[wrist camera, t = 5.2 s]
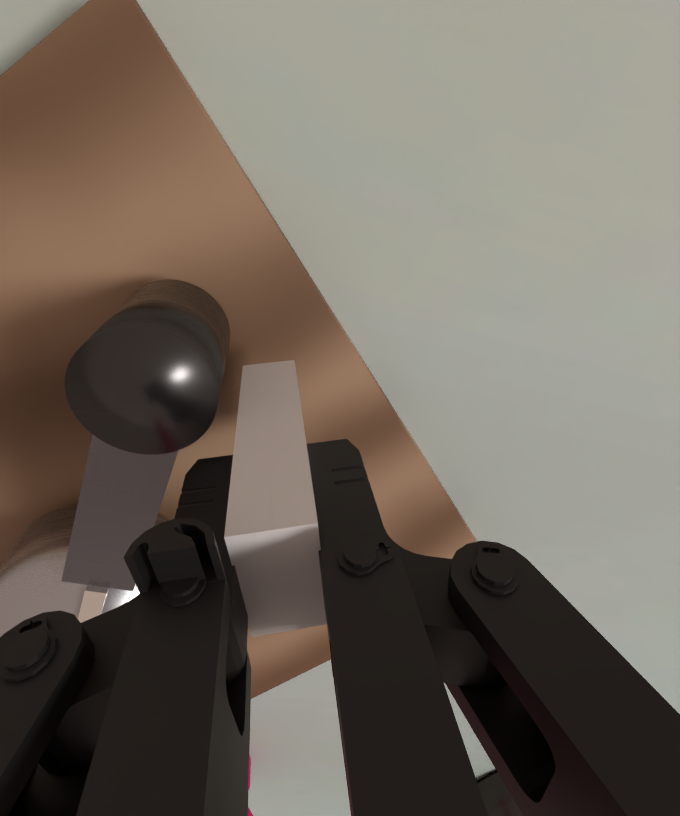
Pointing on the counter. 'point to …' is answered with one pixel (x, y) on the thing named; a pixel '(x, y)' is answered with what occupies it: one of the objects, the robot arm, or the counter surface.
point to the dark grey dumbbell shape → (121, 449)
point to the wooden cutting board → (158, 260)
